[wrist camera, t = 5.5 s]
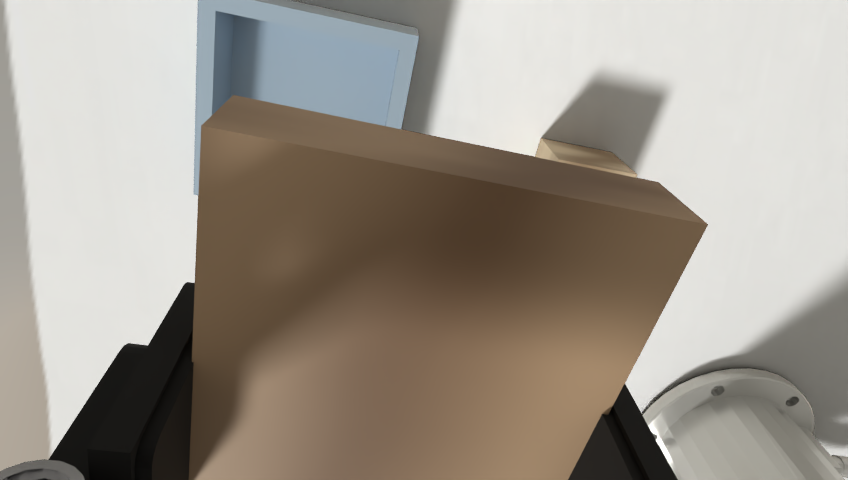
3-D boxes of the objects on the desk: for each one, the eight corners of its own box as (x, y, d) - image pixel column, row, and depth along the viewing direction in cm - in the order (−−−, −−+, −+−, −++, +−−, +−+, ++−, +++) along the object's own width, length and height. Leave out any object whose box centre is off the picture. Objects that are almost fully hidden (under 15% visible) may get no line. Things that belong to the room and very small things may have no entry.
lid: (658, 182, 9) (708, 224, 8) (487, 555, 14) (498, 623, 12) (233, 94, 8) (201, 125, 7) (204, 533, 13) (181, 605, 11)
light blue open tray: (416, 28, 26) (418, 36, 23) (384, 199, 30) (382, 226, 27) (223, -15, 25) (198, -12, 22) (216, 169, 29) (193, 194, 25)
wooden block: (611, 152, 29) (637, 174, 26) (569, 263, 32) (588, 296, 29) (541, 137, 28) (558, 159, 25) (504, 253, 32) (516, 284, 28)
